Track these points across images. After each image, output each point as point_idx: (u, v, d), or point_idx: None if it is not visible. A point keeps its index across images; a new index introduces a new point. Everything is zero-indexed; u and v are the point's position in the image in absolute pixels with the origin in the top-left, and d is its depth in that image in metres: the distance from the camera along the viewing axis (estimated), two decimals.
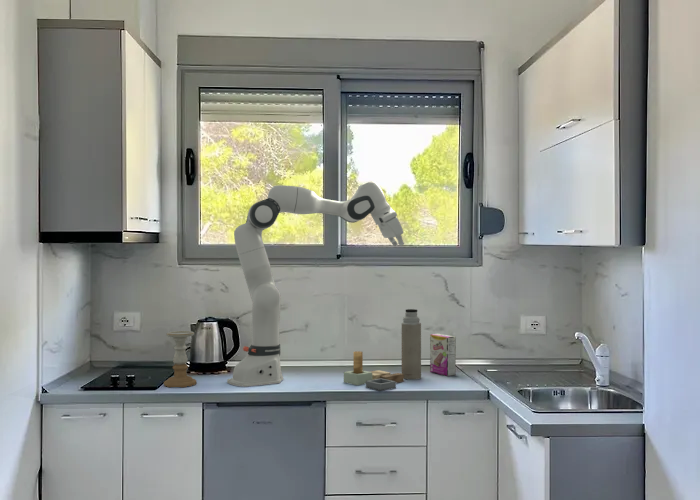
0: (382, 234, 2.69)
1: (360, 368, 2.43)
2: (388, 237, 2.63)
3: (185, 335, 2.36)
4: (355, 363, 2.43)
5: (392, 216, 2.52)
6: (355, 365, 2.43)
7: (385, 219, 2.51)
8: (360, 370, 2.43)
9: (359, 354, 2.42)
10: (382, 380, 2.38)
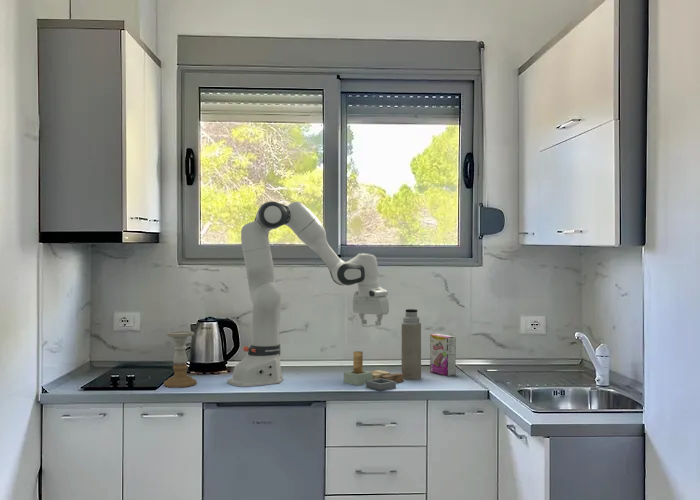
0: (353, 308, 2.64)
1: (360, 368, 2.43)
2: (363, 313, 2.59)
3: (185, 335, 2.36)
4: (355, 363, 2.43)
5: (384, 294, 2.51)
6: (355, 365, 2.43)
7: (378, 294, 2.50)
8: (360, 370, 2.43)
9: (359, 354, 2.42)
10: (382, 380, 2.38)
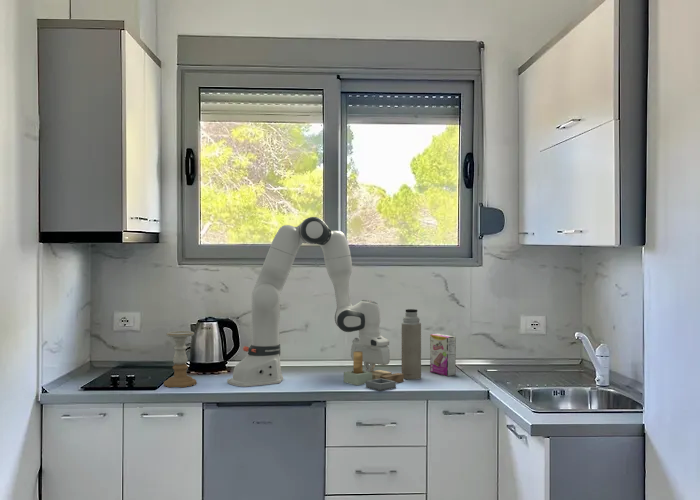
0: (351, 355, 2.60)
1: (360, 368, 2.43)
2: None
3: (185, 335, 2.36)
4: (355, 363, 2.43)
5: (386, 344, 2.48)
6: (355, 365, 2.43)
7: (380, 344, 2.46)
8: (360, 370, 2.43)
9: (359, 354, 2.42)
10: (382, 380, 2.38)
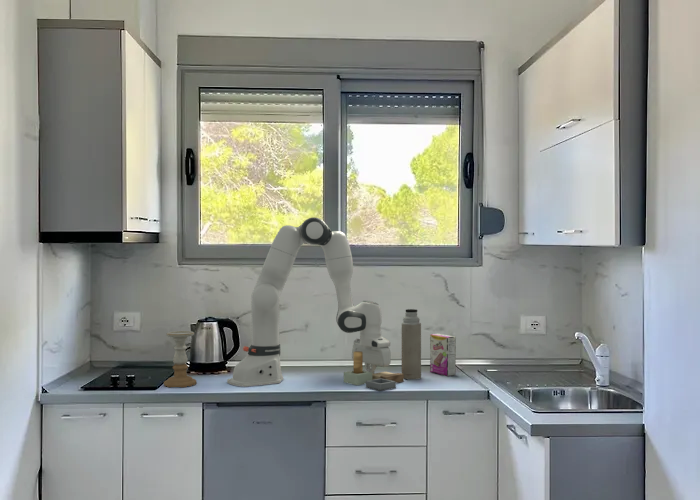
0: (352, 356, 2.59)
1: (360, 368, 2.43)
2: None
3: (185, 335, 2.36)
4: (355, 363, 2.43)
5: (386, 345, 2.47)
6: (355, 365, 2.43)
7: (381, 345, 2.45)
8: (360, 370, 2.43)
9: (359, 354, 2.42)
10: (382, 380, 2.38)
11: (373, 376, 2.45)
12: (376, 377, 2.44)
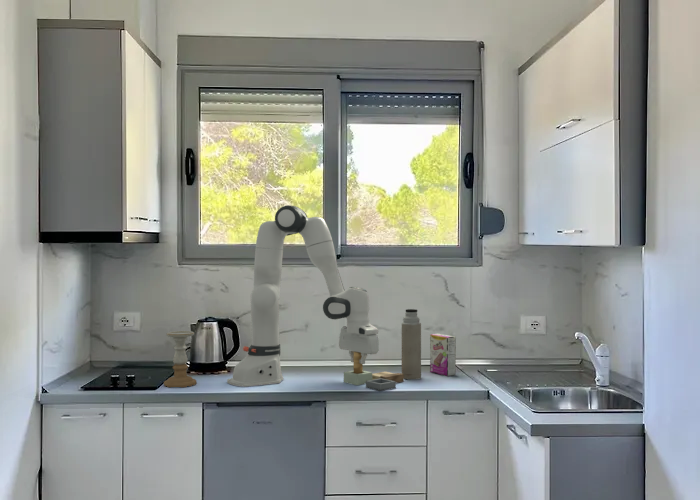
0: (339, 344, 2.50)
1: (360, 368, 2.43)
2: (350, 350, 2.45)
3: (185, 335, 2.36)
4: (355, 363, 2.43)
5: (374, 332, 2.38)
6: (355, 365, 2.43)
7: (368, 332, 2.36)
8: (360, 370, 2.43)
9: (359, 354, 2.43)
10: (382, 380, 2.38)
11: (373, 376, 2.45)
12: (376, 377, 2.44)
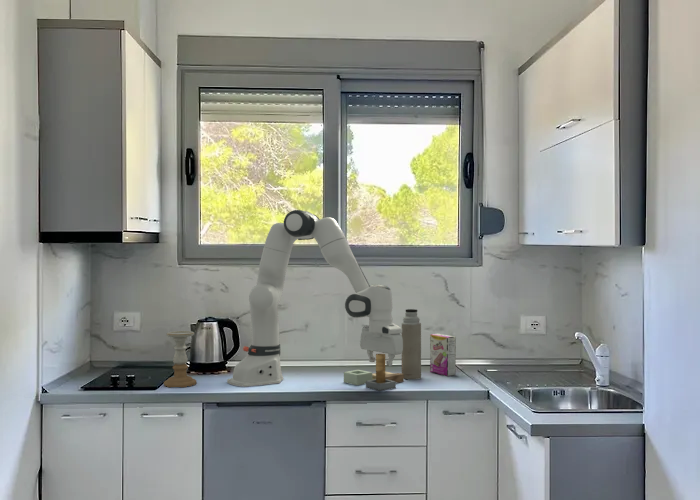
0: (361, 344, 2.40)
1: (383, 371, 2.33)
2: (372, 350, 2.35)
3: (185, 335, 2.36)
4: (378, 366, 2.33)
5: (398, 332, 2.28)
6: (378, 368, 2.33)
7: (392, 331, 2.26)
8: (383, 373, 2.33)
9: (382, 356, 2.33)
10: None
11: (373, 376, 2.46)
12: None
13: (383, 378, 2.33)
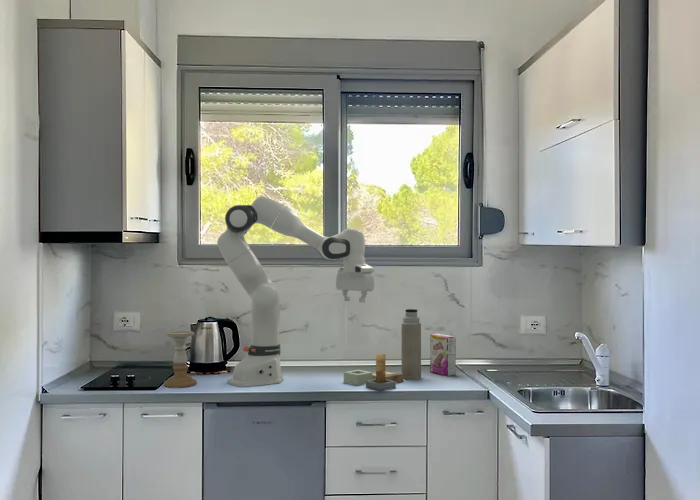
0: (336, 285, 2.59)
1: (383, 371, 2.33)
2: (346, 289, 2.55)
3: (185, 335, 2.36)
4: (378, 366, 2.33)
5: (370, 270, 2.48)
6: (378, 368, 2.33)
7: (364, 270, 2.46)
8: (383, 373, 2.33)
9: (382, 357, 2.33)
10: None
11: (373, 376, 2.45)
12: None
13: (383, 378, 2.33)
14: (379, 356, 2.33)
